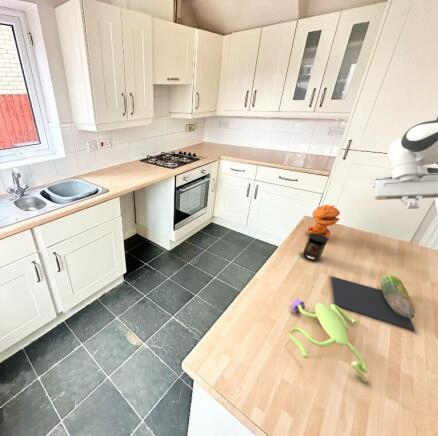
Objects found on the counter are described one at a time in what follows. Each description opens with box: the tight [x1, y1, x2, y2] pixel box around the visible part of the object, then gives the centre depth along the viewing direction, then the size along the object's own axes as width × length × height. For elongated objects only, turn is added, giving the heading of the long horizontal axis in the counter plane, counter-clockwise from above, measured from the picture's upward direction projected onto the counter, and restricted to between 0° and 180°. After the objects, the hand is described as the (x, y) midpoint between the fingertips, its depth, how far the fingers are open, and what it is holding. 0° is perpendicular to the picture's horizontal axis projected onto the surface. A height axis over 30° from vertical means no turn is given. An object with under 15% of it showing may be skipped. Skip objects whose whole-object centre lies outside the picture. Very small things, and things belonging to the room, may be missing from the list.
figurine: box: [289, 298, 368, 382], centre depth 72 cm, size 18×27×6 cm
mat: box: [331, 276, 415, 332], centre depth 84 cm, size 20×16×1 cm
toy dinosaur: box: [306, 204, 341, 240], centre depth 116 cm, size 11×11×18 cm
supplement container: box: [302, 233, 329, 262], centre depth 104 cm, size 7×7×10 cm
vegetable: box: [380, 274, 416, 320], centre depth 81 cm, size 6×6×20 cm
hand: (413, 208), depth 88 cm, fingers closed
